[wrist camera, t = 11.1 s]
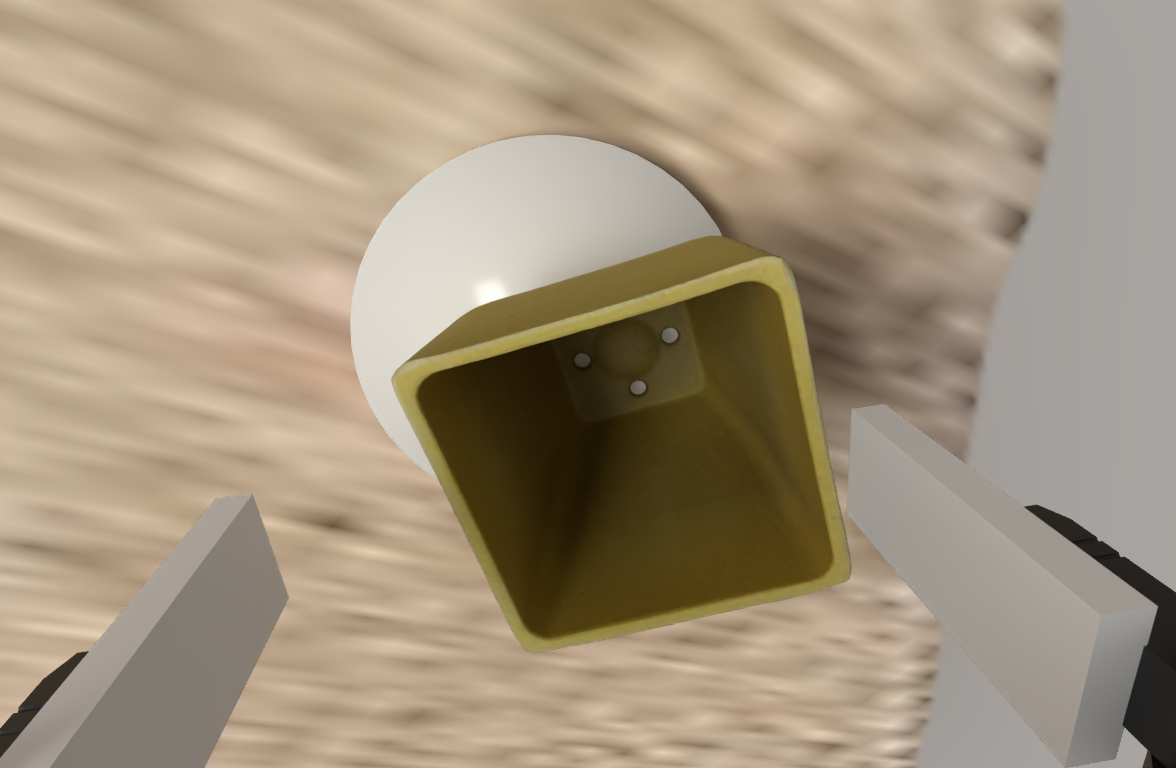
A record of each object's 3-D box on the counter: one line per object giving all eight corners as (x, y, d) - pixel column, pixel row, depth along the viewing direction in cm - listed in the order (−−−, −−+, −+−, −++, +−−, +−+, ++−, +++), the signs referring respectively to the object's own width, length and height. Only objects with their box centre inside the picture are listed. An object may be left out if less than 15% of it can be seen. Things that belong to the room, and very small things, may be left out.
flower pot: (545, 478, 25) (522, 663, 17) (461, 269, 22) (380, 374, 14) (767, 418, 24) (857, 585, 16) (714, 187, 21) (792, 248, 12)
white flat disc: (737, 469, 27) (746, 484, 26) (404, 516, 27) (399, 534, 25) (731, 111, 22) (742, 111, 21) (312, 160, 21) (301, 162, 20)
